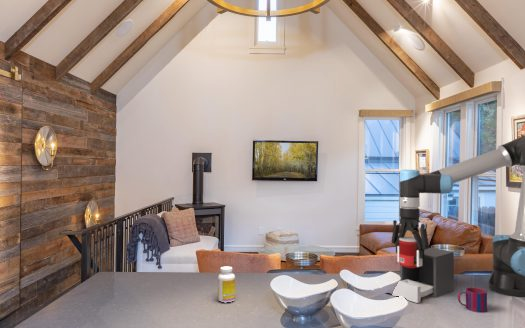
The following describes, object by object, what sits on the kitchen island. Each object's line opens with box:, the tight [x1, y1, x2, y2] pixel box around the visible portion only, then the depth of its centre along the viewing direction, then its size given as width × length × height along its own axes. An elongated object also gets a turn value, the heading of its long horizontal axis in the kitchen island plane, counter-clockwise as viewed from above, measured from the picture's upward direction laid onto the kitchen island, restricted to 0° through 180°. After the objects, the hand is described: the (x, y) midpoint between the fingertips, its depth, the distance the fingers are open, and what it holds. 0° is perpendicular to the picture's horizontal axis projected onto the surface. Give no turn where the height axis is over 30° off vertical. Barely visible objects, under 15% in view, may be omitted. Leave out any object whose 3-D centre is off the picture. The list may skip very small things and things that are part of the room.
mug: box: [457, 286, 488, 313], centre depth 137 cm, size 7×10×7 cm
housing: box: [399, 247, 455, 298], centre depth 159 cm, size 16×14×16 cm
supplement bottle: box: [217, 265, 236, 303], centre depth 146 cm, size 7×7×13 cm
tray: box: [391, 279, 434, 304], centre depth 152 cm, size 15×15×6 cm
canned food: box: [398, 236, 418, 268], centre depth 152 cm, size 8×8×11 cm
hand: (409, 263), depth 152 cm, fingers closed on canned food, 8 cm apart
